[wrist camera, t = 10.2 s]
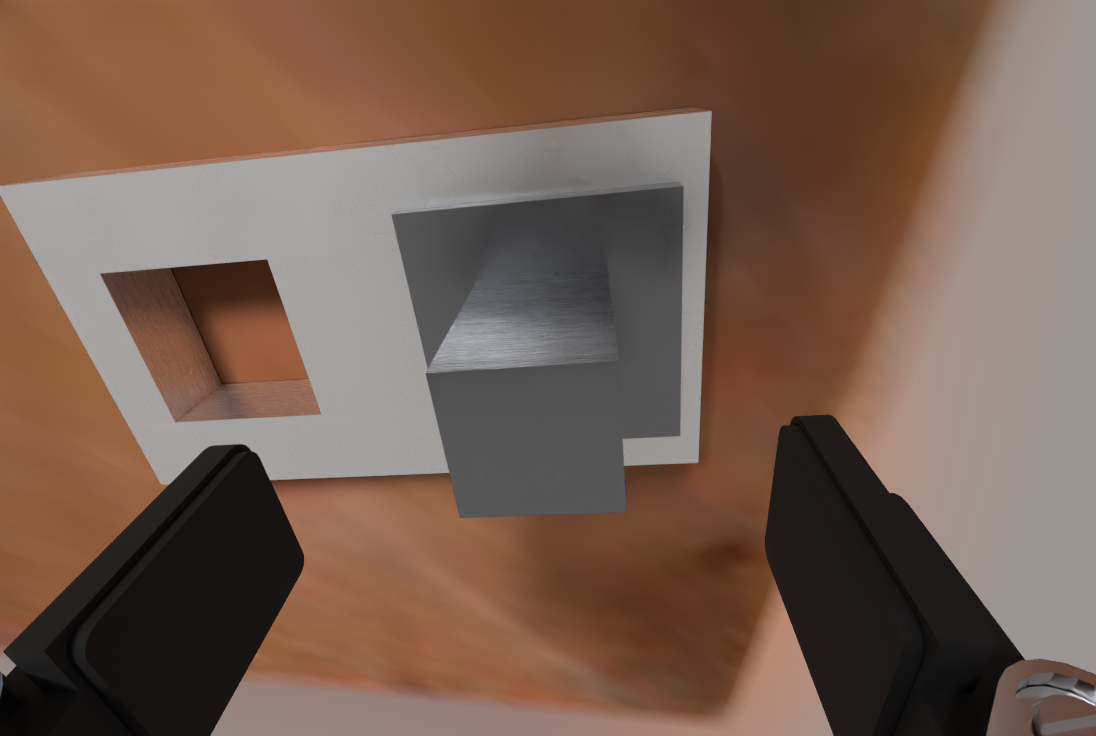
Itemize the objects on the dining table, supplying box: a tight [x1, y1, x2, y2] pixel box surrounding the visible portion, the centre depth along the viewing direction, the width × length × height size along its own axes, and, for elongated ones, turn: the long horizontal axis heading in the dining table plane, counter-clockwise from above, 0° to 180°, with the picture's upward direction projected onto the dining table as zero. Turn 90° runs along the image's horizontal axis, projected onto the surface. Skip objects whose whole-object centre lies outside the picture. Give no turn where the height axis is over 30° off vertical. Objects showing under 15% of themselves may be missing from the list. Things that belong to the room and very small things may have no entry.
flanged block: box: [391, 182, 684, 518], centre depth 16 cm, size 8×8×9 cm
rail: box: [0, 107, 712, 484], centre depth 20 cm, size 12×22×3 cm, turn 96°
